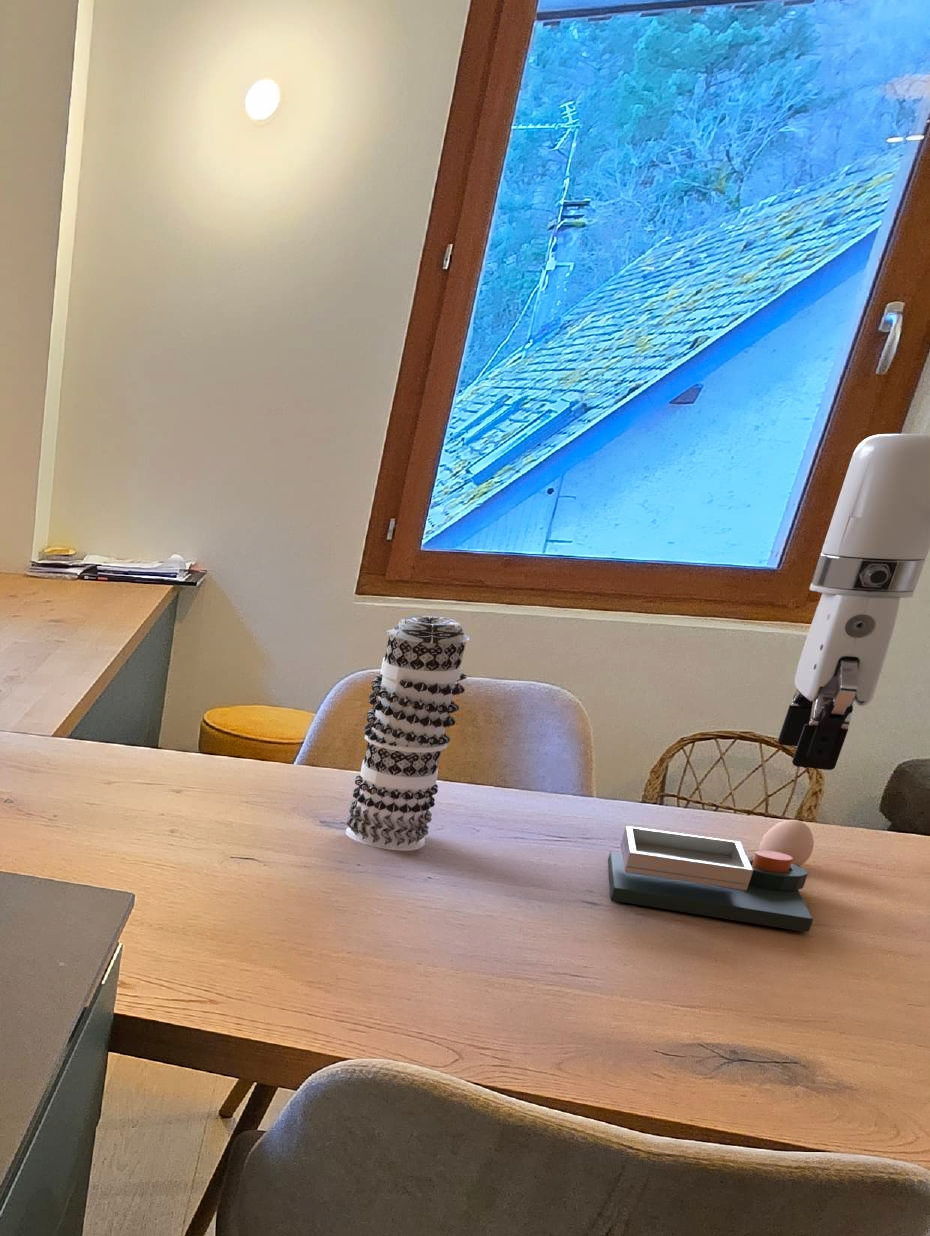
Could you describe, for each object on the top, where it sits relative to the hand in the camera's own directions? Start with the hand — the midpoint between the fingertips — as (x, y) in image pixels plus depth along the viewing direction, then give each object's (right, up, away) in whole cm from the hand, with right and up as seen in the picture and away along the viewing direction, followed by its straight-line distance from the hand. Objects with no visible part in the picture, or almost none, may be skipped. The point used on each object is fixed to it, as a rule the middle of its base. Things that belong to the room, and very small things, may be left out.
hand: (804, 756), depth 118 cm
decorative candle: (-32, -7, +20) cm, 38 cm away
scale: (-7, -14, +5) cm, 16 cm away
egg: (+7, -11, +12) cm, 18 cm away
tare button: (0, -11, +4) cm, 12 cm away
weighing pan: (-9, -11, +4) cm, 15 cm away
